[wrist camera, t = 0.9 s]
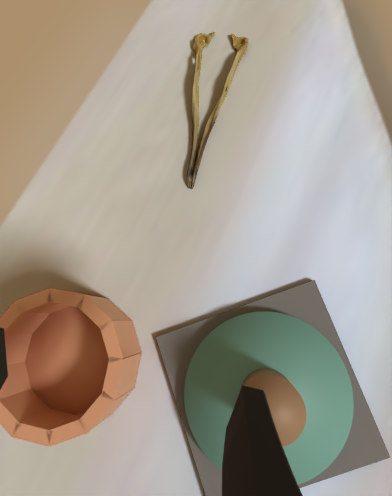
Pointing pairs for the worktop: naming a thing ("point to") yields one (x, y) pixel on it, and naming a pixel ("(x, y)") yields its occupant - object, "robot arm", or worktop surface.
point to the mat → (316, 315)
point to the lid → (272, 388)
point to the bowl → (65, 364)
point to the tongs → (198, 150)
